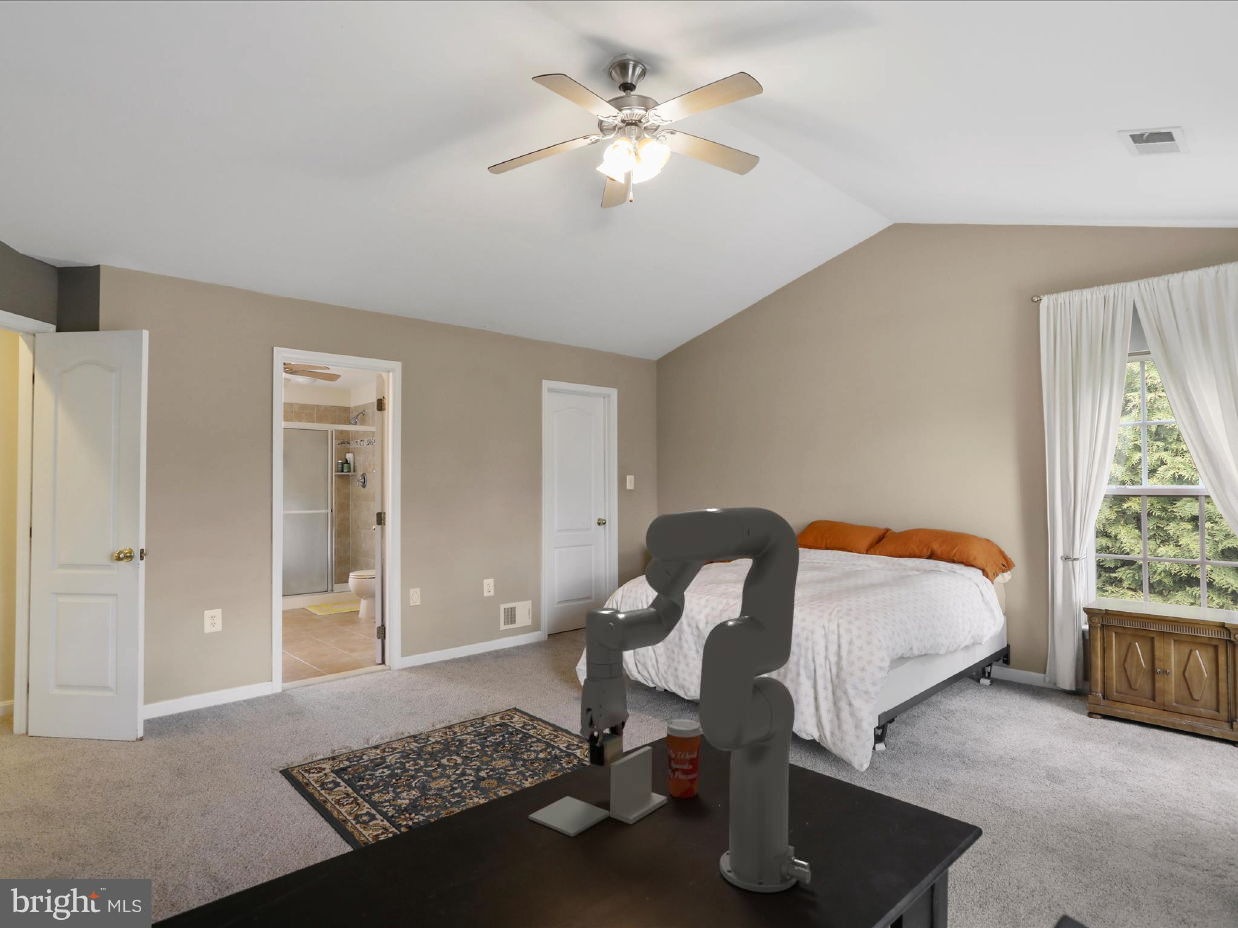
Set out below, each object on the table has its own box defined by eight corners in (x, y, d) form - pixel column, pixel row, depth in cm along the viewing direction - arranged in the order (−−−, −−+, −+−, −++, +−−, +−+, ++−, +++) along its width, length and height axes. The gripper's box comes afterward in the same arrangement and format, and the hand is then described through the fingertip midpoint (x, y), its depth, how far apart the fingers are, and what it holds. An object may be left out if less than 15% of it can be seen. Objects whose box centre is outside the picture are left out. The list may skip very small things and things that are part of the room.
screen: (666, 802, 143) (667, 751, 143) (631, 824, 133) (631, 770, 134) (646, 795, 146) (647, 745, 146) (610, 816, 136) (610, 763, 137)
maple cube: (623, 761, 145) (622, 735, 146) (607, 768, 141) (607, 741, 142) (604, 756, 148) (603, 730, 149) (588, 763, 144) (588, 737, 145)
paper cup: (660, 797, 145) (661, 728, 145) (669, 782, 152) (669, 716, 153) (698, 802, 143) (699, 732, 143) (705, 787, 150) (706, 720, 150)
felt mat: (610, 814, 137) (610, 811, 137) (572, 836, 128) (572, 833, 128) (567, 798, 144) (567, 795, 144) (528, 818, 135) (528, 815, 135)
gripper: (615, 659, 155) (617, 745, 154) (563, 675, 142) (564, 769, 140) (643, 664, 150) (645, 752, 149) (592, 680, 137) (593, 777, 136)
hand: (605, 759), depth 145 cm, fingers closed on maple cube, 5 cm apart
